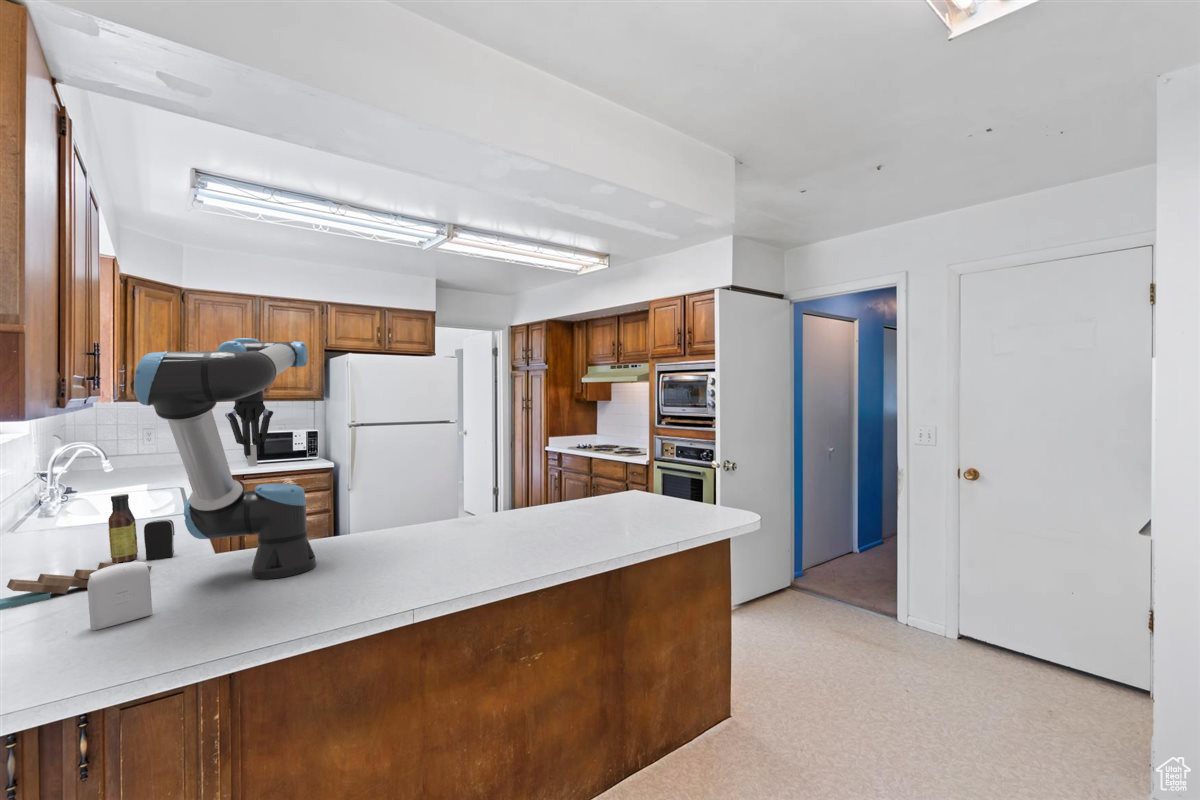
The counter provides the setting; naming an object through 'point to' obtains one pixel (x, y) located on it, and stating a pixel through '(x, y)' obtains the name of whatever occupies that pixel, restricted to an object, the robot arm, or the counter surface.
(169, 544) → the battery charger
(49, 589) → the domino
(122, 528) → the sauce bottle
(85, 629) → the counter surface
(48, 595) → the domino
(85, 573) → the domino
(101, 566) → the domino
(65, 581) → the domino
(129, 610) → the photo printer
